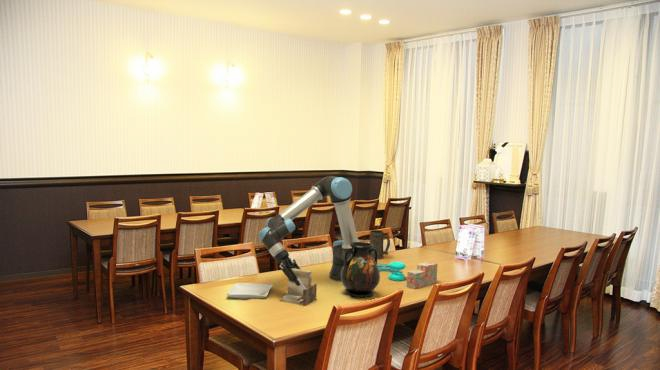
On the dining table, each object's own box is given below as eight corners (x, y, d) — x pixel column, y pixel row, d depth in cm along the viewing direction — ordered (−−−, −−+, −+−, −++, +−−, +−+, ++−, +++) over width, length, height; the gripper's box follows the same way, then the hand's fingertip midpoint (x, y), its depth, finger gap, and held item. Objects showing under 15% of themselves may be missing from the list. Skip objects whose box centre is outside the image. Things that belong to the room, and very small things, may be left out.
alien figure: (402, 275, 315) (396, 267, 335) (402, 271, 315) (397, 264, 335) (370, 274, 314) (367, 266, 334) (371, 271, 314) (367, 263, 334)
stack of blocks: (415, 289, 283) (416, 268, 282) (406, 287, 288) (407, 266, 287) (436, 283, 298) (437, 263, 297) (428, 281, 302) (429, 261, 301)
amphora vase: (346, 301, 257) (348, 248, 255) (334, 289, 278) (336, 240, 275) (385, 299, 263) (387, 247, 261) (370, 287, 284) (372, 239, 281)
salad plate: (235, 288, 275) (235, 282, 275) (273, 289, 275) (273, 283, 274) (225, 300, 254) (225, 293, 254) (267, 302, 253) (267, 295, 253)
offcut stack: (287, 298, 255) (287, 293, 255) (304, 302, 251) (304, 297, 251) (282, 301, 251) (282, 296, 251) (299, 304, 247) (299, 299, 247)
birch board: (290, 295, 261) (291, 267, 259) (310, 299, 255) (311, 271, 254) (287, 297, 258) (288, 269, 256) (307, 301, 252) (308, 272, 251)
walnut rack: (291, 296, 263) (292, 279, 262) (317, 301, 256) (317, 284, 256) (279, 302, 252) (279, 285, 251) (305, 307, 245) (305, 290, 244)
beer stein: (366, 258, 354) (369, 231, 353) (367, 255, 365) (370, 228, 363) (387, 261, 352) (391, 234, 350) (388, 258, 363) (391, 231, 361)
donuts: (403, 265, 297) (387, 263, 300) (402, 282, 297) (386, 280, 301) (407, 262, 306) (391, 260, 309) (406, 278, 307) (390, 276, 310)
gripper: (283, 254, 269) (309, 289, 263) (266, 260, 254) (293, 297, 248) (291, 246, 266) (318, 281, 260) (275, 251, 251) (302, 288, 246)
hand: (305, 289), depth 254 cm, fingers closed on birch board, 3 cm apart
